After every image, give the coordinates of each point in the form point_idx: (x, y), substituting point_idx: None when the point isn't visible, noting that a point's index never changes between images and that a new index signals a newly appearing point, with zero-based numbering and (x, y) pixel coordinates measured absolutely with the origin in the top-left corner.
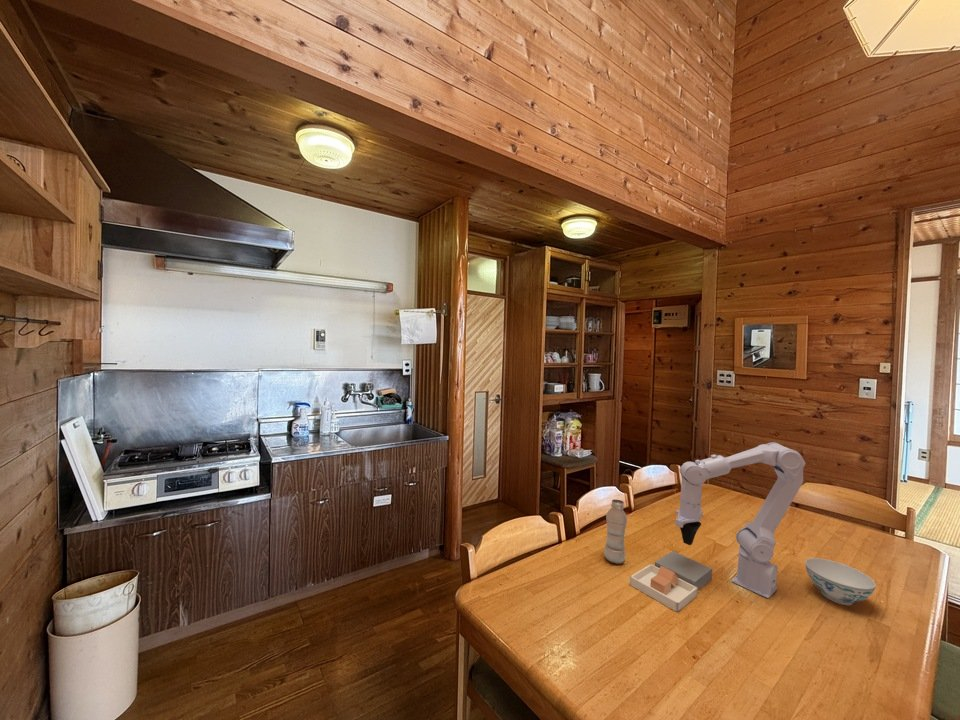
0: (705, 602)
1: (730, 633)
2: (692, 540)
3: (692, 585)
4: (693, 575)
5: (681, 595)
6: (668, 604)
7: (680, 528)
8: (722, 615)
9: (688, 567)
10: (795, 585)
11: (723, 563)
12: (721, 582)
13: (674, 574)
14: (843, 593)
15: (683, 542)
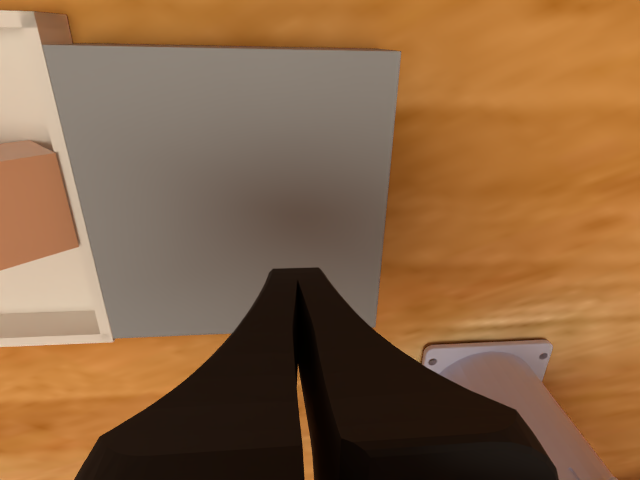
0: (122, 349)
1: (25, 463)
2: (301, 379)
3: (101, 320)
4: (177, 303)
5: (24, 280)
6: None
7: (192, 379)
8: (106, 415)
9: (245, 245)
10: (606, 459)
11: (605, 255)
12: (380, 321)
13: None
14: None
15: (272, 269)
